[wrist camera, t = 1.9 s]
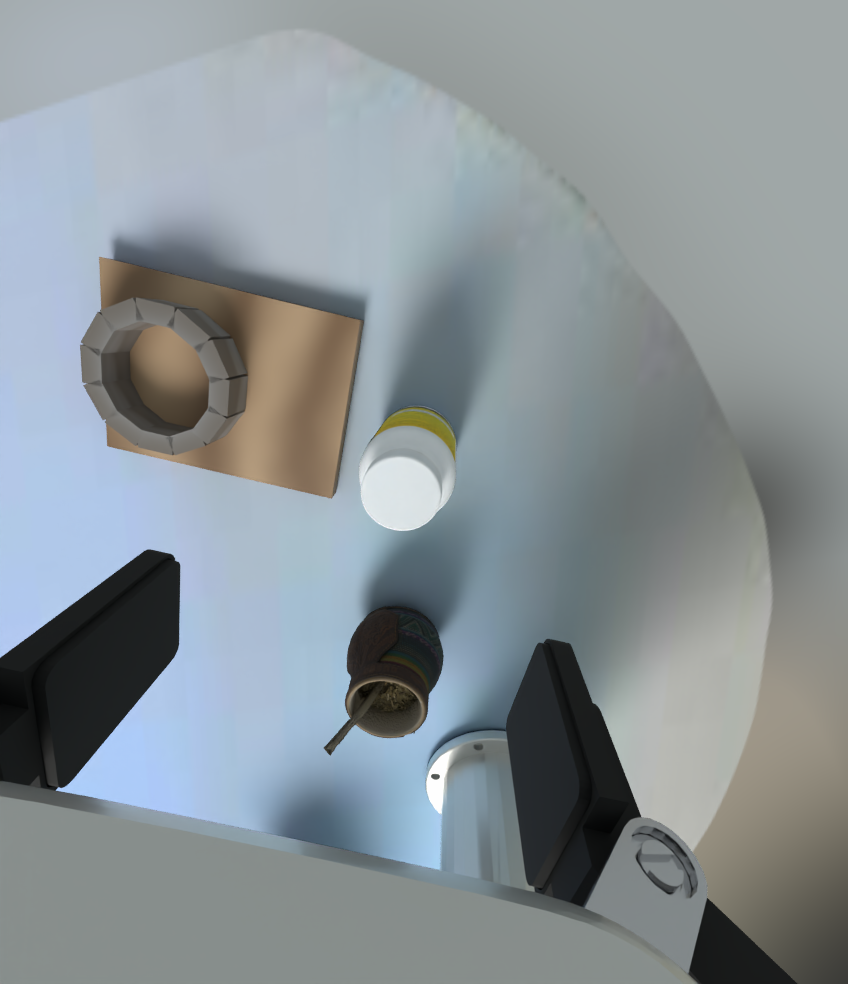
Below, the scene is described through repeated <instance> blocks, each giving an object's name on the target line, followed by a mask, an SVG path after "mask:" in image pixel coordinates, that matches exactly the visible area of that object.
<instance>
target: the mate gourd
mask: <svg viewBox="0 0 848 984" xmlns="http://www.w3.org/2000/svg"><path fill="white" fill-rule="evenodd" d="M442 665H443V650H442V646H441V642H440V639H439V635H438V632H437V630H436V628H435V626H434V625H433V624H432V622H431V621H430V620H429V619H428V618H427V617H426V616H424V615H423V614H421V613H420V612H418V611H416V610H413V609H411V608H407V607H401V606H400V607H399V606H392V607H390V606H389V607H383V608H379V609H377V610H375V611H373V612H371V613H370V614H368V616H367V617H366V618H365V619H364V620H363V621H362V622H361V623H360V625H359V626H358V627H357V629H356V631H355V632H354V634H353V636H352V638H351V641H350V645H349V648H348V654H347V671H348V673H349V674H350V676H351V681H350V684H349V689H348V692H347V695H346V699H345V707H346V710H347V713H348V715H349V717H350V718H351V719H349V720H348V721H347V722H346V723H345V725H344V726H343V727H342V728H341V729H340V730H339V732H338V733H337V734H336V735H335V736H334V737H333V738H332V739H331V740H330V742H329V743H328V744H327V745H326V746H325V747H324V749H325V750H326V751H327V753H328V754H329V755H330V756H331V754H332V752H333V751H334V750H335V748H336V746H337V745H338V744H339V743H340V742H341V741H342V740H343V739H344V737H345V736H346V735H347V733H348V732H349V730H350V729H351V728H352V727H353V726H354V725H357V726H358V727H359V728H361V729H362V730H364V731H365V732H367V733H369V734H371V735H374V736H377V737H382V738H397V737H404V736H405V735H407V734H410V733H413V732H414V733H415V731H416V730H418V729H419V728H420V726H421V725H422V724H423V723H424V721H425V719H426V717H427V714H428V713H427V712H428V699H429V697H428V696H429V693H430V692H431V691H432V689H433V688H434V687H435V685H436V684H437V681H438V679H439V676H440V674H441V670H442Z"/></svg>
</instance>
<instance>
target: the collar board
mask: <svg viewBox="0 0 848 984" xmlns="http://www.w3.org/2000/svg"><path fill="white" fill-rule="evenodd" d="M99 263H100V286H101V310H100V311H101V312H98V313H97V314H96V316H95V318H94V320H93V321H92V323H91V325H90V327H89V328H88V330H87V332H86V334H85V335H84V337H83V339H82V341H81V343H83V344H84V345H80V351H81V367H82V382H83V383H88V384H86V385H83V386H84V387H85V389H86V391H87V393H88V394H89V396H90V398H91V400H92V402H93V403H94V405H95V407H96V409H97V411H98V412H99V414H100V416H101V418H102V419H103V420H104V419H106V421H105V423H106V427H107V446H109V447H113V448H117V449H122V450H126V451H130V452H135V453H139V454H143V455H147V456H152V457H156V458H160V459H165V460H169V461H173V462H177V463H182V464H186V465H190V466H195V467H199V468H203V469H207V470H212V471H216V472H220V473H225V474H229V475H233V476H237V477H242V478H246V479H250V480H255V481H259V482H263V483H267V484H272V485H276V486H280V487H285V488H289V489H293V490H297V491H302V492H306V493H310V494H315V495H319V496H323V497H327V498H332V497H333V496H334V494H335V493H336V488H337V482H338V476H339V470H340V464H341V458H342V452H343V446H344V439H345V433H346V427H347V421H348V415H349V409H350V403H351V397H352V391H353V385H354V379H355V372H356V366H357V360H358V354H359V348H360V342H361V336H362V330H363V324H364V321H363V320H359V319H355V318H351V317H347V316H343V315H338V314H334V313H330V312H326V311H322V310H318V309H314V308H310V307H306V306H302V305H297V304H293V303H289V302H285V301H281V300H277V299H273V298H269V297H265V296H261V295H256V294H252V293H248V292H244V291H240V290H236V289H232V288H228V287H224V286H219V285H215V284H211V283H207V282H203V281H199V280H195V279H191V278H187V277H183V276H178V275H174V274H170V273H166V272H162V271H158V270H154V269H150V268H146V267H142V266H137V265H133V264H129V263H125V262H121V261H117V260H113V259H107V258H102V257H99Z"/></svg>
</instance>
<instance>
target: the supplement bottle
mask: <svg viewBox="0 0 848 984" xmlns="http://www.w3.org/2000/svg"><path fill="white" fill-rule="evenodd" d="M359 480H360V484H361V499H362V503H363V505H364V508H365V509H366V511H367V513H368V514H369V515H370V516H371V518H372V519H373V520H375V521H376V522H377V523H379V524H380V525H382V526H384V527H386V528H389V529H393V530H398V531H408V530H413V529H416V528H419V527H421V526H423V525H425V524H426V523H427V522H429V521H430V520H431V519H432V518H433V517H434V515H435V514H436V512H437V511H438V510H440V509H441V508H442V507H443V506H444V505H445V504H446V502H447V501H448V500H449V498H450V496H451V494H452V492H453V489H454V486H455V481H456V438H455V434H454V431H453V428H452V426H451V425H450V423H449V422H448V420H447V419H446V418H445V417H444V416H443V415H442V414H440V413H439V412H437V411H436V410H434V409H431V408H428V407H425V406H409V407H405V408H402V409H399V410H397V411H396V412H394V413H393V414H391V415H390V416H389V417H388V418H387V419H386V420H385V422H384V423H383V424H382V426H381V427H380V429H379V430H378V431H377V433H376V434H375V436H374V437H373V438H372V439H371V441H370V442H369V444H368V445H367V447H366V449H365V451H364V453H363V455H362V457H361V461H360V465H359Z"/></svg>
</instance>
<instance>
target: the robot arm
mask: <svg viewBox="0 0 848 984" xmlns="http://www.w3.org/2000/svg"><path fill="white" fill-rule="evenodd" d="M179 609H180V564H179V562H177V561H175V558H174V556H173V555H172V554H168V553H164V552H159V551H155V550H146V551H144V552H143V553H141V554H140V555H138V556H137V557H136V558H134V559H133V560H132V561H130V562H129V563H128V564H126V565H125V566H124V567H122V568H121V569H120V570H118V571H117V572H116V573H114V574H113V575H112V576H110V577H109V578H107V579H106V580H105V581H103V582H102V583H101V584H99V585H98V586H97V587H95V588H94V589H93V590H91V591H90V592H89V593H87V594H86V595H85V596H83V597H82V598H80V599H79V600H78V601H76V602H75V603H74V604H72V605H71V606H70V607H68V608H67V609H66V610H64V611H63V612H62V613H60V614H59V615H58V616H56V617H55V618H54V619H52V620H51V621H49V622H48V623H47V624H45V625H44V626H43V627H41V628H40V629H39V630H37V631H36V632H35V633H33V634H32V635H31V636H29V637H28V638H27V639H25V640H24V641H23V642H21V643H20V644H18V645H17V646H16V647H14V648H13V649H12V650H10V651H9V652H8V653H6V654H5V655H4V656H2V657H1V658H0V984H797V983H796V982H795V981H794V980H793V979H792V978H791V977H790V976H789V975H788V974H787V973H786V972H785V971H784V970H782V969H781V968H780V967H779V966H778V965H777V964H776V963H775V962H774V961H773V960H772V959H771V958H770V957H769V956H768V955H766V953H765V952H764V951H762V950H761V949H760V948H759V947H758V946H757V945H756V944H755V943H754V942H753V941H752V940H751V939H750V938H749V937H748V936H747V935H746V934H745V933H744V932H743V931H741V930H740V929H739V928H738V927H737V926H736V925H735V924H734V923H733V922H732V921H731V920H730V919H729V918H728V917H727V916H726V915H725V914H724V913H723V912H722V911H720V910H719V909H718V908H717V907H716V906H715V905H714V904H713V903H712V902H711V901H710V900H709V899H708V898H707V883H706V879H705V876H704V872H703V870H702V868H701V866H700V864H699V862H698V860H697V858H696V857H695V855H694V854H693V853H692V851H691V850H690V849H689V847H688V846H687V845H686V843H685V842H684V841H683V840H682V839H681V838H680V837H678V836H677V835H676V834H675V833H674V832H673V831H672V830H670V829H669V828H667V827H666V826H664V825H663V824H661V823H659V822H657V821H654V820H652V819H650V818H642V817H641V815H640V812H639V810H638V807H637V804H636V802H635V799H634V797H633V794H632V791H631V789H630V786H629V784H628V781H627V778H626V776H625V773H624V771H623V768H622V765H621V763H620V760H619V758H618V755H617V752H616V750H615V747H614V745H613V742H612V739H611V737H610V734H609V732H608V729H607V726H606V724H605V721H604V718H603V716H602V713H601V711H600V709H599V708H598V706H596V705H595V704H593V703H592V700H591V698H590V695H589V692H588V689H587V687H586V684H585V681H584V679H583V676H582V673H581V671H580V668H579V665H578V662H577V660H576V657H575V654H574V652H573V649H572V647H571V645H570V644H569V643H565V642H560V641H556V640H551V639H546V640H545V642H544V644H543V643H538V644H537V646H536V648H535V650H534V653H533V655H532V658H531V660H530V663H529V665H528V668H527V670H526V673H525V675H524V678H523V680H522V683H521V685H520V688H519V690H518V693H517V695H516V697H515V700H514V702H513V705H512V707H511V710H510V712H509V715H508V718H507V723H506V731H497V730H487V731H476V732H472V733H467V734H464V735H461V736H459V737H456V738H454V739H452V740H450V741H449V742H447V743H445V744H444V745H443V746H442V747H440V748H439V749H438V750H437V751H436V752H435V754H434V755H433V756H432V758H431V759H430V761H429V764H428V766H427V772H426V792H427V795H428V798H429V800H430V802H431V803H432V805H433V807H434V808H435V809H436V810H437V811H438V812H439V813H440V814H441V854H440V870H437V869H432V868H428V867H423V866H418V865H414V864H409V863H404V862H400V861H395V860H390V859H386V858H381V857H377V856H372V855H367V854H363V853H358V852H353V851H349V850H344V849H339V848H335V847H330V846H325V845H320V844H315V843H311V842H306V841H301V840H296V839H292V838H287V837H282V836H277V835H273V834H268V833H263V832H258V831H253V830H249V829H244V828H239V827H234V826H229V825H225V824H220V823H215V822H210V821H205V820H200V819H196V818H191V817H186V816H181V815H176V814H171V813H166V812H161V811H156V810H151V809H146V808H141V807H136V806H131V805H127V804H122V803H117V802H112V801H107V800H102V799H97V798H92V797H87V796H82V795H76V794H71V793H65V792H60V791H55V790H56V789H57V788H58V787H60V788H63V787H65V786H66V785H68V784H69V783H70V782H71V781H72V780H73V779H74V777H75V776H76V775H77V774H78V773H79V771H80V770H81V769H82V768H83V767H84V765H85V764H86V763H87V762H88V761H89V759H90V758H91V757H92V756H93V755H94V753H95V752H96V751H97V750H98V749H99V747H100V746H101V745H102V744H103V743H104V741H105V740H106V739H107V738H108V737H109V735H110V734H111V733H112V732H113V730H114V729H115V728H116V727H117V726H118V724H119V723H120V722H121V721H122V720H123V718H124V717H125V716H126V715H127V714H128V712H129V711H130V710H131V709H132V708H133V706H134V705H135V704H136V703H137V702H138V700H139V699H140V698H141V697H142V696H143V694H144V693H145V692H146V691H147V690H148V688H149V687H150V686H151V685H152V684H153V682H154V681H155V680H156V679H157V678H158V676H159V675H160V674H161V673H162V671H163V670H164V669H165V668H166V667H167V665H168V664H169V663H170V662H171V661H172V659H173V658H174V656H175V655H176V652H177V650H178V646H179Z"/></svg>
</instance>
